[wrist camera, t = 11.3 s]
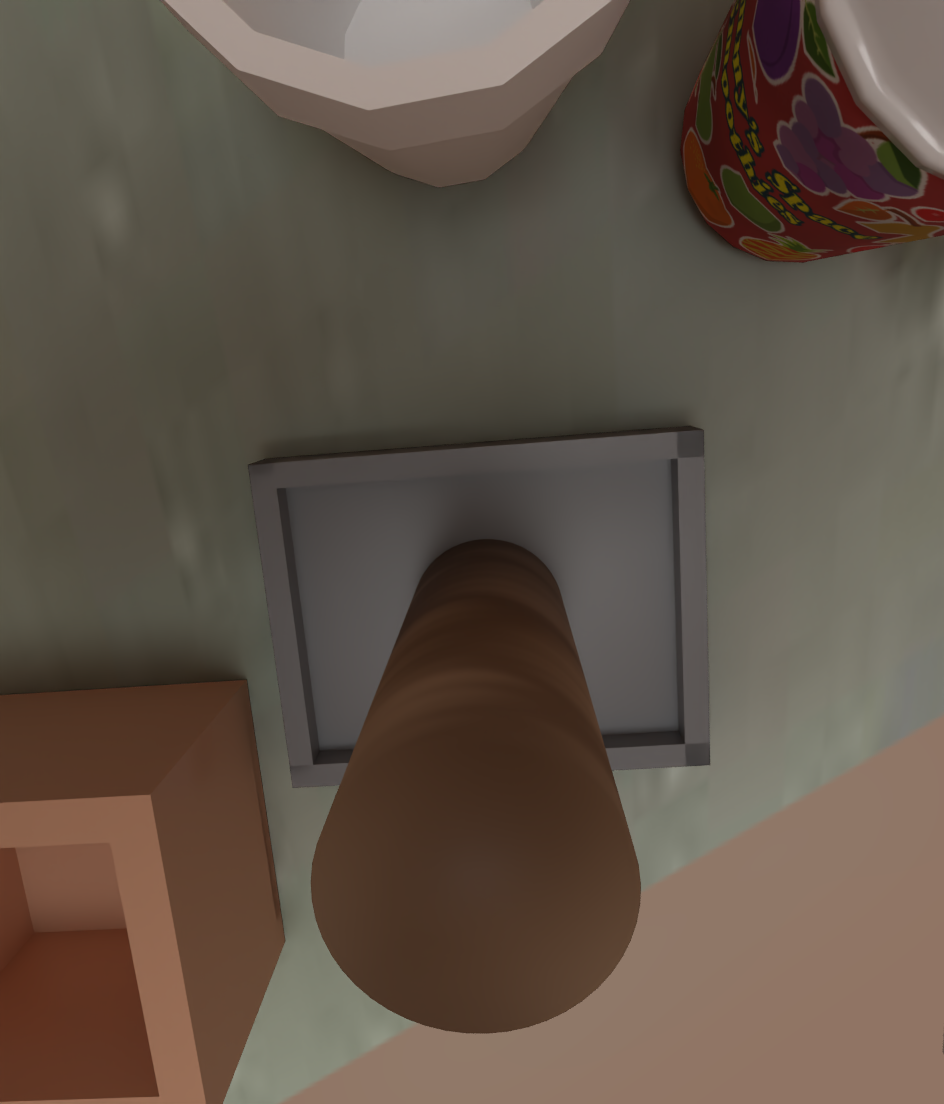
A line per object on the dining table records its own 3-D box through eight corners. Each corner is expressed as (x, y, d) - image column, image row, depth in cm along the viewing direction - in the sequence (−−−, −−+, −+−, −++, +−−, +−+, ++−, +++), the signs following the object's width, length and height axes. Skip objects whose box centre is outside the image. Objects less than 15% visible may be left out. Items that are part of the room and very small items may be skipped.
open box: (16, 952, 32) (-144, 1143, 24) (-42, 697, 29) (-240, 815, 21) (285, 941, 31) (211, 1133, 23) (246, 679, 29) (150, 794, 21)
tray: (305, 762, 29) (292, 787, 28) (264, 459, 27) (248, 464, 25) (697, 740, 29) (709, 764, 27) (690, 425, 26) (703, 429, 24)
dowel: (419, 688, 28) (330, 1039, 13) (406, 544, 27) (291, 749, 12) (567, 678, 27) (646, 1026, 13) (558, 533, 26) (634, 729, 12)
